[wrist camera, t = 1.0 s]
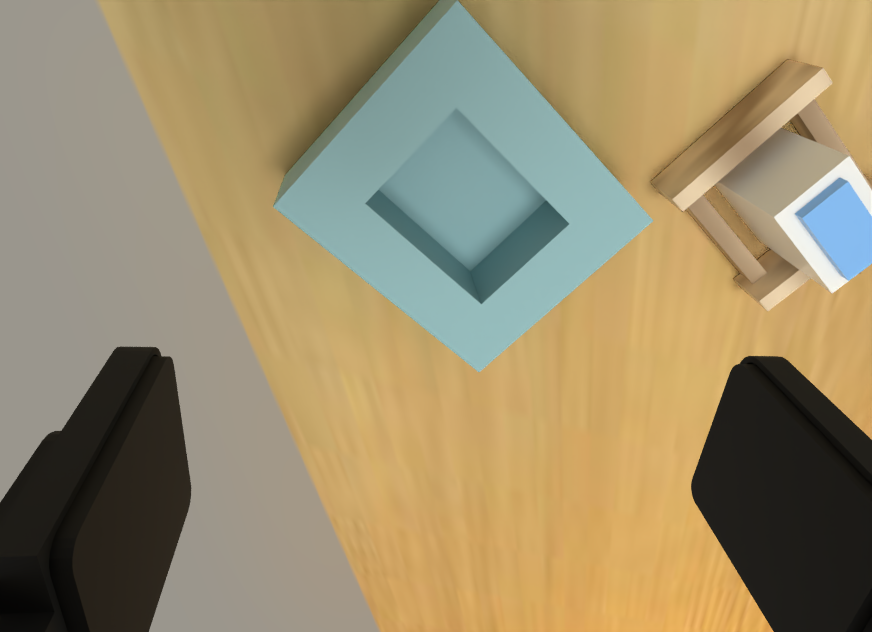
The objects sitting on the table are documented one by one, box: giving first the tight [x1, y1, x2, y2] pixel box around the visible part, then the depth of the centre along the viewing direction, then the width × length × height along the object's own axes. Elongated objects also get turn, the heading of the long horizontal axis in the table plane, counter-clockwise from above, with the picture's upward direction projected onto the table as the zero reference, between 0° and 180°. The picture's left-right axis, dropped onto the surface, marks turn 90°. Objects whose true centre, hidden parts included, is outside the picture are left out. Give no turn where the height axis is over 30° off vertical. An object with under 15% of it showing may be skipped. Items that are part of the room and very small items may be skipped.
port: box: [273, 0, 653, 372], centre depth 33 cm, size 12×14×5 cm
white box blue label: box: [715, 128, 872, 293], centre depth 33 cm, size 4×6×8 cm, turn 45°
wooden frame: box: [651, 59, 872, 311], centre depth 35 cm, size 9×10×3 cm
